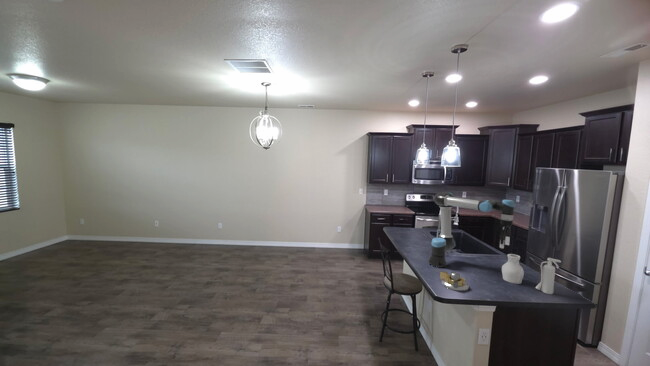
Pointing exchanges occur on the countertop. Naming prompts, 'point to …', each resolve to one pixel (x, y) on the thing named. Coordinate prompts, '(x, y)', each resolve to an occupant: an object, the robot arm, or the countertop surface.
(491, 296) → the countertop surface
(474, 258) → the countertop surface
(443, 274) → the gold crown ring
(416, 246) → the countertop surface
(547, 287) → the fire extinguisher
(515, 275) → the vase
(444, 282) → the flange
